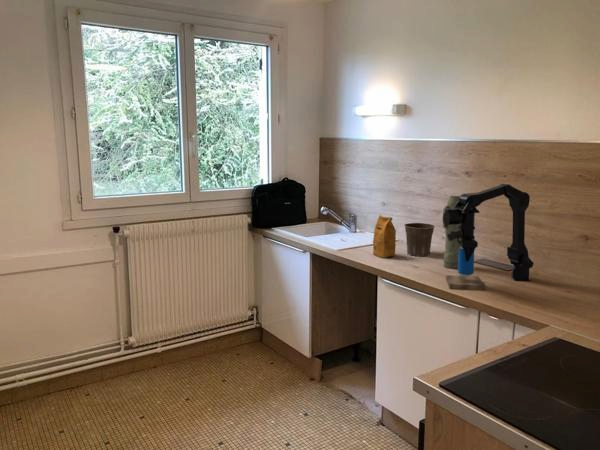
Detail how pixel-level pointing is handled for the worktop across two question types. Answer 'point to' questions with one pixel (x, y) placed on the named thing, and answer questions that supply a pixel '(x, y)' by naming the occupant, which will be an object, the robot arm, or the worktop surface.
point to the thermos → (453, 245)
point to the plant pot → (419, 238)
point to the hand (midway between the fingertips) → (465, 259)
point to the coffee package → (384, 238)
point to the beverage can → (465, 263)
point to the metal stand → (464, 282)
